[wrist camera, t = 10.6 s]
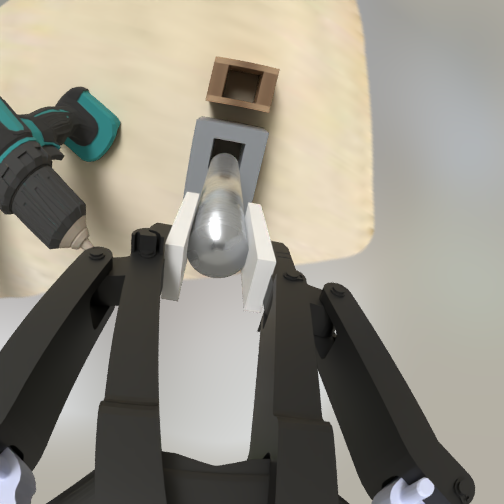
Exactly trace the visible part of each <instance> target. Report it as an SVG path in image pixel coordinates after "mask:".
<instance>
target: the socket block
mask: <svg viewBox="0 0 504 504" xmlns="http://www.w3.org/2000/svg"><path fill="white" fill-rule="evenodd" d="M268 135H269V133H268V132H267V131H266V130H265V129H264V128H261V127H257V126H252V125H247V124H242V123H237V122H232V121H226V120H221V119H215V118H209V117H203V116H202V117H200V118H198V119H197V121H196V126H195V131H194V137H193V142H192V147H191V153H190V159H189V165H188V171H187V177H186V183H185V190H184V197H185V195H186V193H187V192H192V193H198V194H199V200H200V196H201V193H202V189H203V186H204V183H205V179H206V176H207V173H208V169H209V166H210V163H211V161H212V159H213V158H211V157H212V152H213V147H214V142H215V138H217V139H222V140H228V141H233V142H238V143H242V146H241V150H240V155H239V159H238V165H239V173H240V182H241V190H242V199H243V207H244V216H245V215H246V211H247V206H248V202H250V203H252V201H253V196H254V192H255V188H256V184H257V180H258V176H259V172H260V168H261V163H262V159H263V155H264V151H265V147H266V143H267V139H268ZM184 197H183V200H184ZM199 200H198V203H199ZM197 207H198V206H197Z"/></svg>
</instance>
